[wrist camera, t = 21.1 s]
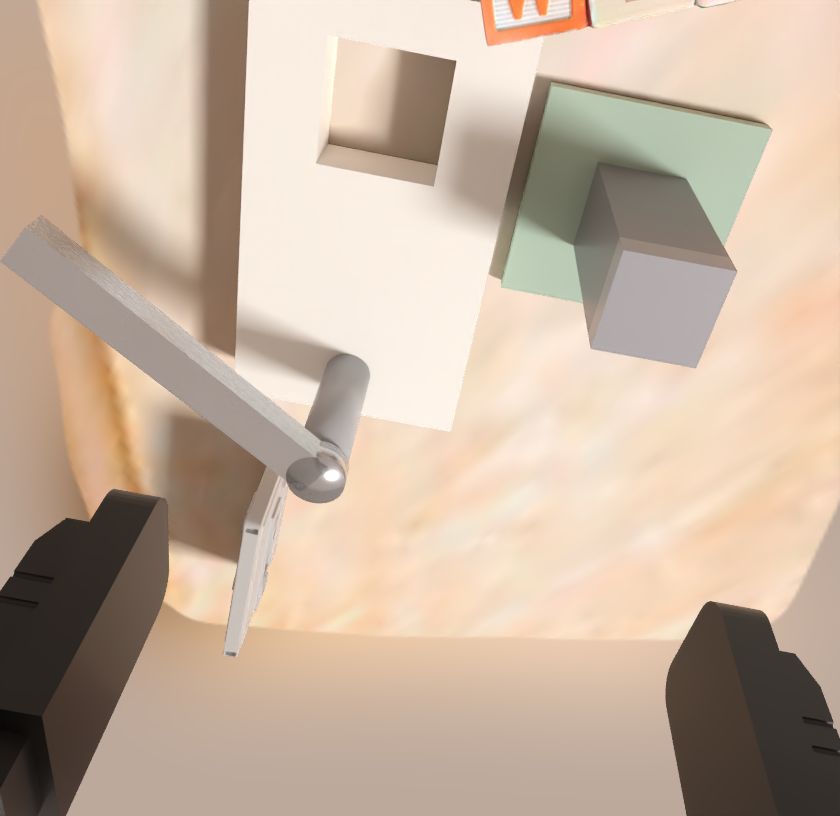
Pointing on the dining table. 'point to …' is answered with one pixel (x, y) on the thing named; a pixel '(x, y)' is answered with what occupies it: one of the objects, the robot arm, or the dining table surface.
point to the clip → (176, 360)
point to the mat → (627, 147)
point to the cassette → (255, 556)
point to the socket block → (369, 216)
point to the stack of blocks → (569, 15)
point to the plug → (649, 266)
